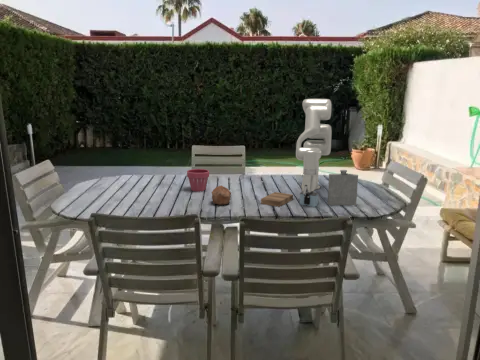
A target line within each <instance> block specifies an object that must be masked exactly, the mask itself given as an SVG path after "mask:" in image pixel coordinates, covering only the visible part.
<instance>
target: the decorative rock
mask: <svg viewBox="0 0 480 360" xmlns="http://www.w3.org/2000/svg"><path fill="white" fill-rule="evenodd" d="M231 195H232V192H231V191H230V190H229V189H228V188H227V187H225V186H224V185H218V186H216V187H215V188H214V189H213V190H212V191H211V200H212V203H213V204H215V205H219V206H222V205H228V204H229V203H230V201H231Z"/></svg>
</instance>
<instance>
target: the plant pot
mask: <svg viewBox="0 0 480 360" xmlns="http://www.w3.org/2000/svg"><path fill="white" fill-rule="evenodd" d="M186 177H187V178H188V182H189V185H190V186H189V187H190V189H191V191H192V192H200V191H201V192H204V190H205V191H206V189H207V183H208V179H209V177H210V171H209V169H205V168H193V169H188V170H187V171H186Z"/></svg>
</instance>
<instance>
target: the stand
mask: <svg viewBox="0 0 480 360" xmlns="http://www.w3.org/2000/svg"><path fill="white" fill-rule="evenodd" d="M293 200H294V194H292V193H285V192H284V193H283V192H277V191H274V192H273V193H270V194H268V195H266V196H263V197H261V198H260V204H261V205H267V206H272V207H277V206H278V207H279V208H280V206H281V207H282V206H284V205H286V204H288V203H289V202H291V201H293Z"/></svg>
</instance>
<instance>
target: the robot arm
mask: <svg viewBox="0 0 480 360" xmlns="http://www.w3.org/2000/svg"><path fill="white" fill-rule="evenodd" d="M301 105H302V109H303V111H304V114H305V124H304V131H303V132H302V133H301V134H300V135H299V136H298V139H297V141H296V144H295V158H296V159H297V160H299V161H303V166H302V167H303V170H302V173H303V174H302V175H303V176H302V184H301V185H300V188H301V192H303V194H304V204H308V205H309V204H310V198H309V196H310V192H315V191H316V190H319V189H320V188H321V186H320V185H319V182H320V180H319V167H320V166H319V165H320V161H319V160H320V159H321V157H322V156H329V155H330V154H331V150H332V126H331V124H328V123H327V124H325V123H321V121H328V120H331V117H332V100H331V99H329V98H305V99H303V101H302V104H301ZM306 139H309V140H306ZM312 139H313V140H312ZM305 140H306V141H305ZM302 144H303V147H302ZM307 191H308V192H307ZM307 193H308V194H307Z"/></svg>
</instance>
